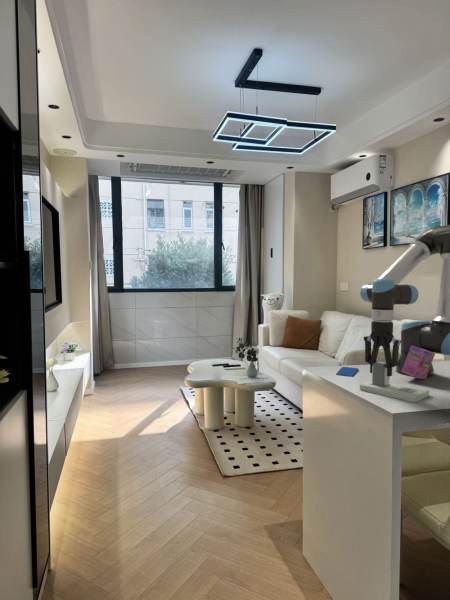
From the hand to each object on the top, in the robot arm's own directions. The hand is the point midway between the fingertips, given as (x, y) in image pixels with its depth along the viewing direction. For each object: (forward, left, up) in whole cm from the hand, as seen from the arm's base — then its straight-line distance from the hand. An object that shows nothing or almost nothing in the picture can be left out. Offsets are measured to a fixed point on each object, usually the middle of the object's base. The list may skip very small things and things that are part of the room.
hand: (380, 383), depth 146 cm
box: (-24, +2, -1) cm, 24 cm away
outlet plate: (0, +5, -2) cm, 6 cm away
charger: (0, 0, 0) cm, 0 cm away
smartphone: (-16, -23, -3) cm, 28 cm away
